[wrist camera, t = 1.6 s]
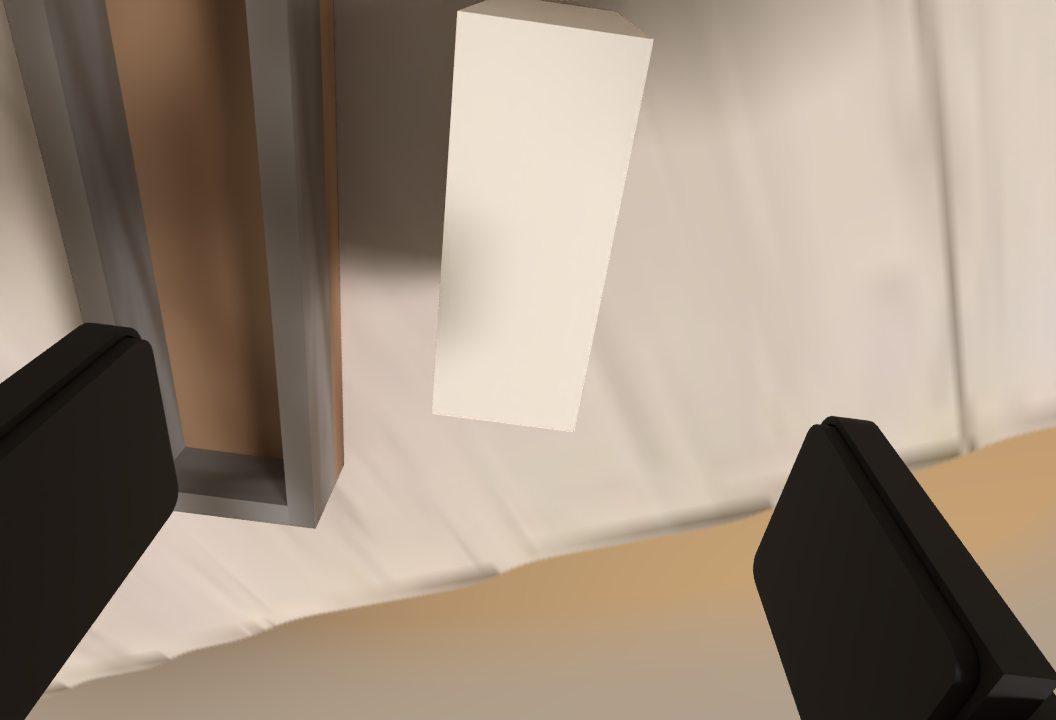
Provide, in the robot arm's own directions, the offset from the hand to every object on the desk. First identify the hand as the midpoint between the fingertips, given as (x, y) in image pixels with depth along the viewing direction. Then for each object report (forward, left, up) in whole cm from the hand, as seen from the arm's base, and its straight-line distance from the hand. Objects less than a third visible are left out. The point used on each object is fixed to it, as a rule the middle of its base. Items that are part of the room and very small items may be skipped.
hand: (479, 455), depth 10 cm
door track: (+12, +3, -18) cm, 22 cm away
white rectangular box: (0, 0, -18) cm, 18 cm away
